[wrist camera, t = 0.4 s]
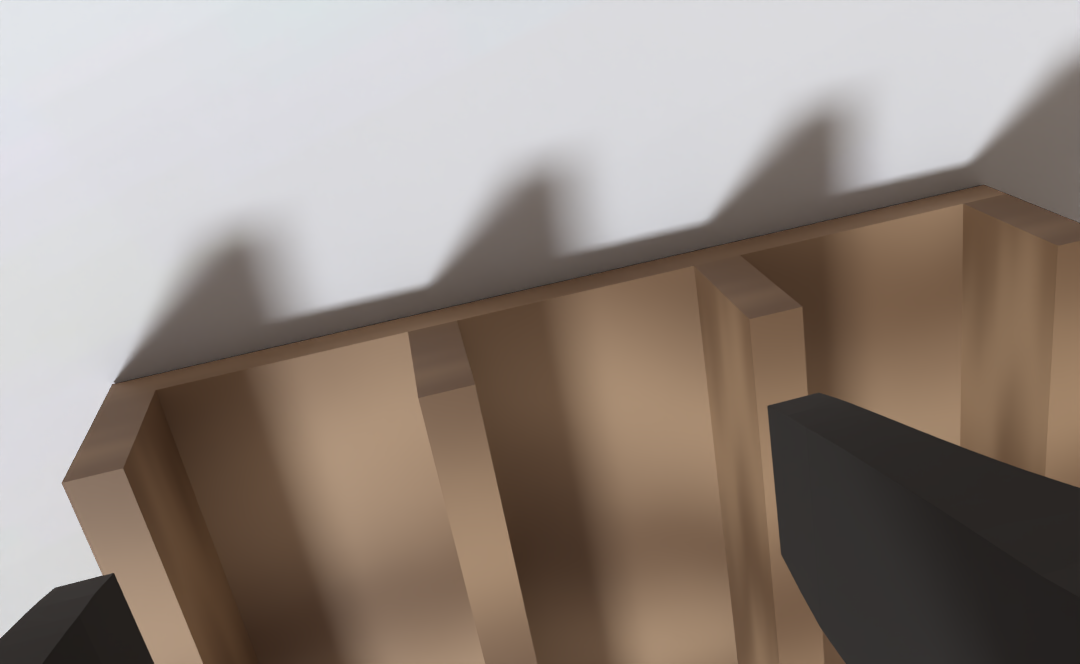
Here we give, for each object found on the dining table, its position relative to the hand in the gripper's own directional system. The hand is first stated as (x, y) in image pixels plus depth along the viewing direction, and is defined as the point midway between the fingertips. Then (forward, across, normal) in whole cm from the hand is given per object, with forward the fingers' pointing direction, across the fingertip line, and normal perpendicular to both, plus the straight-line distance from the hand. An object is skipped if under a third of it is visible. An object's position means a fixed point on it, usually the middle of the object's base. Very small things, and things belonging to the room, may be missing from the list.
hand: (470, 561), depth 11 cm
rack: (+10, -3, +8) cm, 13 cm away
